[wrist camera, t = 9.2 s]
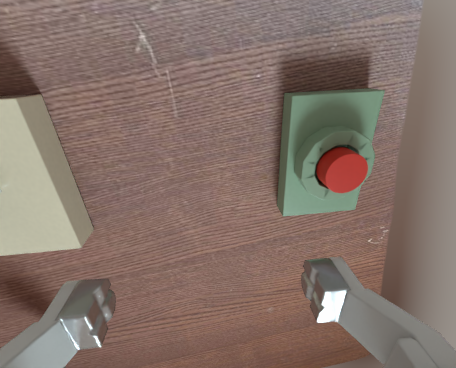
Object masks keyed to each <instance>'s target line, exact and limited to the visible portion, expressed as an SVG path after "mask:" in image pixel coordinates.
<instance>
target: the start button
mask: <svg viewBox="0 0 456 368" xmlns="http://www.w3.org/2000/svg"><path fill="white" fill-rule="evenodd" d="M316 172H317V176H318V178H319V180H320V181H321V182H322V183H323V184H324V185H326V186H327V187H328V188H329V189H330V190H331V191H333V192H335V193H347V192H350V191H352V190H354V189H356V188H357V187H358V186H359V185H360V184H361V183H362V182H363V181H364V179H365V178H366V175H367V172H368V164H367V161H366V160H365V158H364V157H363V156H361V155H359V154H357V153H356V152H354V151H352V150H350V149H348V148H345V147H337V148H333V149H331V150H329V151H328V152H326V153H325V154H324V155H323V156H322V157H321V158H320V160H319V162H318V164H317V169H316Z"/></svg>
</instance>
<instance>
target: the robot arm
mask: <svg viewBox="0 0 456 368" xmlns="http://www.w3.org/2000/svg"><path fill="white" fill-rule="evenodd" d="M303 267H304V269H305V271H304V272H303V273H302V276H301V283H302V288H303V292H304V294H305V296H306V298H308V299H309V300H310V301H311V305H310V308H311V310H312V312H313V315H314V317H315V319H316V321H317V323H319V322H332V321H338V323H339V324H340V325H341V326H342V327H344V328H345V329H346V330H347V331H348V332H349V333H350V334H351V335H352V336H353V337H354V338H355V339H356V340H358V341H359V342H360V343H361V344H362V345H363V346H364V347H365V348H366V349H367V350H368V351H369V352H370V353H371V354H373V355H374V356H375V357H376V358H377V359H378V360H379V361H380V362H381V363H382V364H383V365H384V366H383V368H456V351H455V350H454V348H453V347H452V346H451V345H450V344H449V343H448V342H447V341H446V339H445V338H444V337H443V336H442V335H441V334H440V333H439V332H438V331H436V330H434V329H433V328H431V327H430V326H428V325H426V324H425V323H423V322H421V321H420V320H418V319H417V318H415V317H413V316H412V315H410V314H409V313H407V312H405V311H404V310H402V309H401V308H399V307H397V306H396V305H394V304H392V303H391V302H389V301H387V300H386V299H384V298H383V297H381V296H380V295H378V294H376V293H375V292H373V291H371V290H370V289H365V288H364V287H363V286H362V284H361V283H360V282H359V280H358V279H357V277H356V276H355V275H354V273H353V272H352V271H351V269H350V268H349V267H348V265H347V264H346V262H345V261H344V260H343V258H341V257H332V258H320V259H311V260H305V261H304V265H303ZM110 286H111V283H110V281H109V279H91V280H78V281H67V282H66V283H65V284H63V285H62V287H61V289H60V290H59V292H58V293H57V295H56V296H55V298H54V299H53V301H52V302H51V304H50V305H49V307H48V308H47V310H46V311H45V313H44V315H43V316H42V318H41V319H40V321H39V322H36V323H33V324H32V325H31V326H29V327H28V328H27V329H25V330H24V331H23V332H21V333H20V334H19V335H18V336H16V337H15V338H14V339H12V340H11V341H10V342H8V343H7V344H6V345H4V346H3V347H2V348H1V349H0V368H63V367H64V366H65V365H66V364H67V363H68V362H69V361H70V359H71V358H72V357H73V356H74V355H75V354H76V353H77V350H81V349H88V348H95V347H101V346H102V343H103V341H104V338H105V335H106V333H107V330H108V326H107V324H106V323H107V322H108V321H109V320H110V319H111V318H112V316H113V314H114V311H115V305H116V297H115V293H114V292H113V291H112V290H110V289H109V288H110Z"/></svg>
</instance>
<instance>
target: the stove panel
mask: <svg viewBox="0 0 456 368" xmlns="http://www.w3.org/2000/svg"><path fill="white" fill-rule="evenodd" d="M93 230H94V228H93V225H92V223H91V220H90V218H89V215H88V213H87V210H86V207H85V205H84V202H83V200H82V197H81V195H80V192H79V190H78V187H77V184H76V182H75V179H74V177H73V174H72V172H71V169H70V166H69V164H68V161H67V159H66V156H65V154H64V151H63V149H62V146H61V143H60V141H59V138H58V136H57V133H56V131H55V128H54V125H53V123H52V120H51V118H50V115H49V113H48V110H47V108H46V105H45V102H44V100H43V97H42V95H41V94H34V95H16V96H0V256H4V255H14V254H25V253H35V252H46V251H56V250H66V249H77V248H82V246H83V245H84V243H85V242H86V240H87V239H88V237H89V236H90V235H91V233H92V232H93Z"/></svg>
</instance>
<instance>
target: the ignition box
mask: <svg viewBox="0 0 456 368" xmlns="http://www.w3.org/2000/svg"><path fill="white" fill-rule="evenodd" d="M384 92H385V91H384V90H378V89H370V88H365V89H348V90H330V91H313V92H295V93H284V104H283V120H282V135H281V151H280V167H279V182H278V198H277V206H278V208H279V210H280V212H281V214H282V216H292V215H302V214H313V213H324V212H335V211H346V210H355V208H356V204H357V200H358V196H359V192H360V188H361V185H362V184H363V183H364V181H365V180H366V179H367V178H368V177H369V175H370V174H371V171H372V167H373V163H374V159H375V153H374V150H373V147H372V140H373V136H374V132H375V128H376V124H377V120H378V116H379V112H380V108H381V104H382V100H383V96H384ZM337 147H345V148H348V149H350V150H352V151H354V152H356V153H357V154H359V155H361V156H363V157H364V158H365V160H366V161H367V164H368V172H367V175H366V178H365V179H364V181H363V182H362V183H361V184H360V185H359V186H358V187H357V188H356V189H354V190H352V191H350V192H347V193H335V192H333V191H331V190H330V189H329V188H328V187H327V186H326V185H324V184H323V183H322V182H321V181H320V180H319V178H318V176H317V172H316V169H317V164H318V162H319V160H320V158H321V157H322V156H323V155H324V154H325V153H326V152H328V151H329V150H331V149H333V148H337Z"/></svg>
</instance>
